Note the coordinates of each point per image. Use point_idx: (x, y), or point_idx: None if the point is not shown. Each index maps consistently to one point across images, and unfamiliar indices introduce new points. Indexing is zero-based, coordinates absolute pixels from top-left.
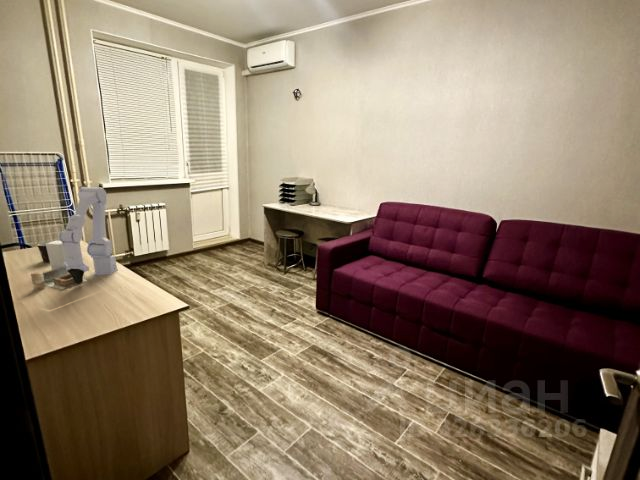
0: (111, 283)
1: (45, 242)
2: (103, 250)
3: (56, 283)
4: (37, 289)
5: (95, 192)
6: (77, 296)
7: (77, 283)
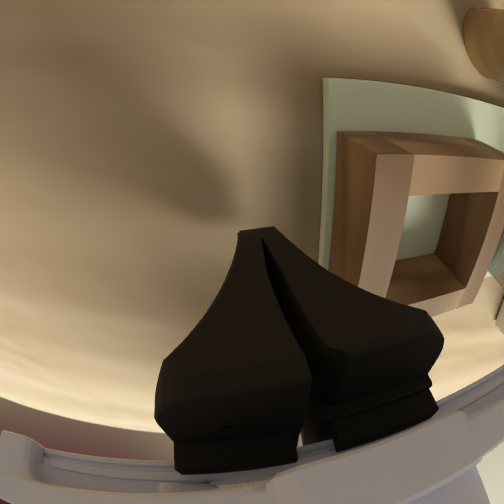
0: (125, 368)
1: None
2: None
3: (466, 142)
4: (484, 11)
5: None
6: (20, 113)
7: (239, 234)
